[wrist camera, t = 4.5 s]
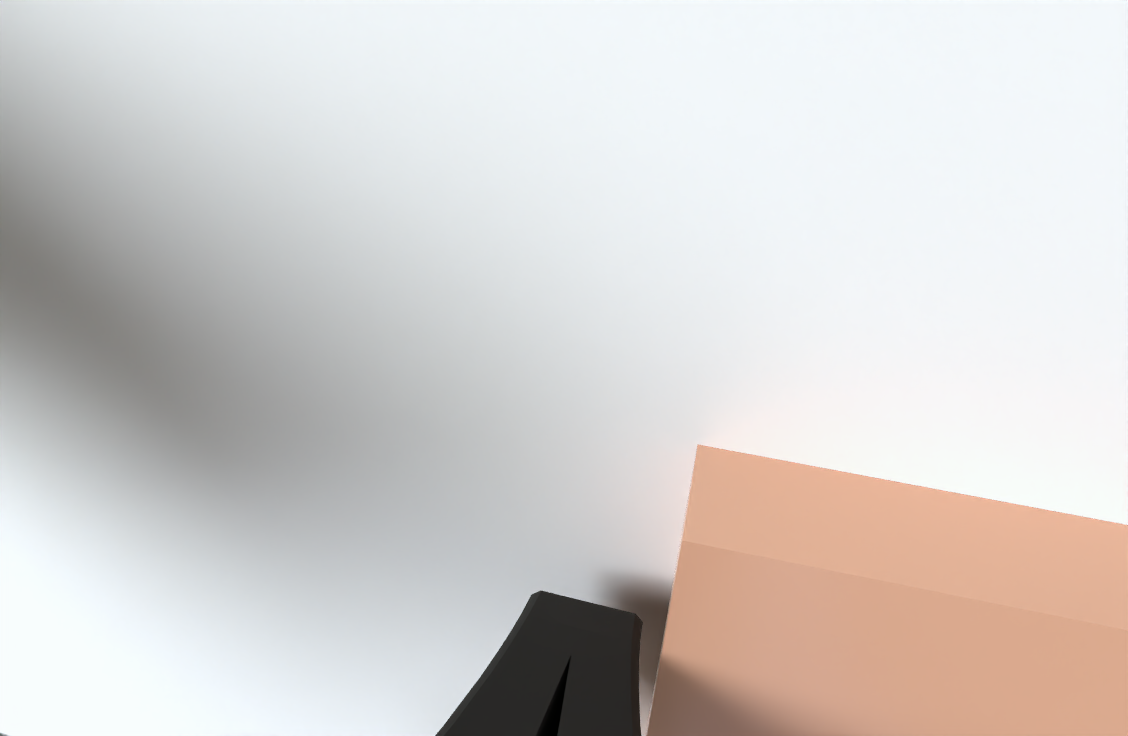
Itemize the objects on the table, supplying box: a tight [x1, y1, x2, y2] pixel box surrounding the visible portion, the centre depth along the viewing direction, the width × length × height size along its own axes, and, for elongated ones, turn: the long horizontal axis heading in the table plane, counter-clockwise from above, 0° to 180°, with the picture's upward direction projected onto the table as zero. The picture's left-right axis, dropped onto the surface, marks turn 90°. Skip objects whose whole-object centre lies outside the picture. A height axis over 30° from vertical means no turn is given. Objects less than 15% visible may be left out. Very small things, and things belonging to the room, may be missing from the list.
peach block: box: [645, 445, 1128, 736], centre depth 11 cm, size 6×6×2 cm
